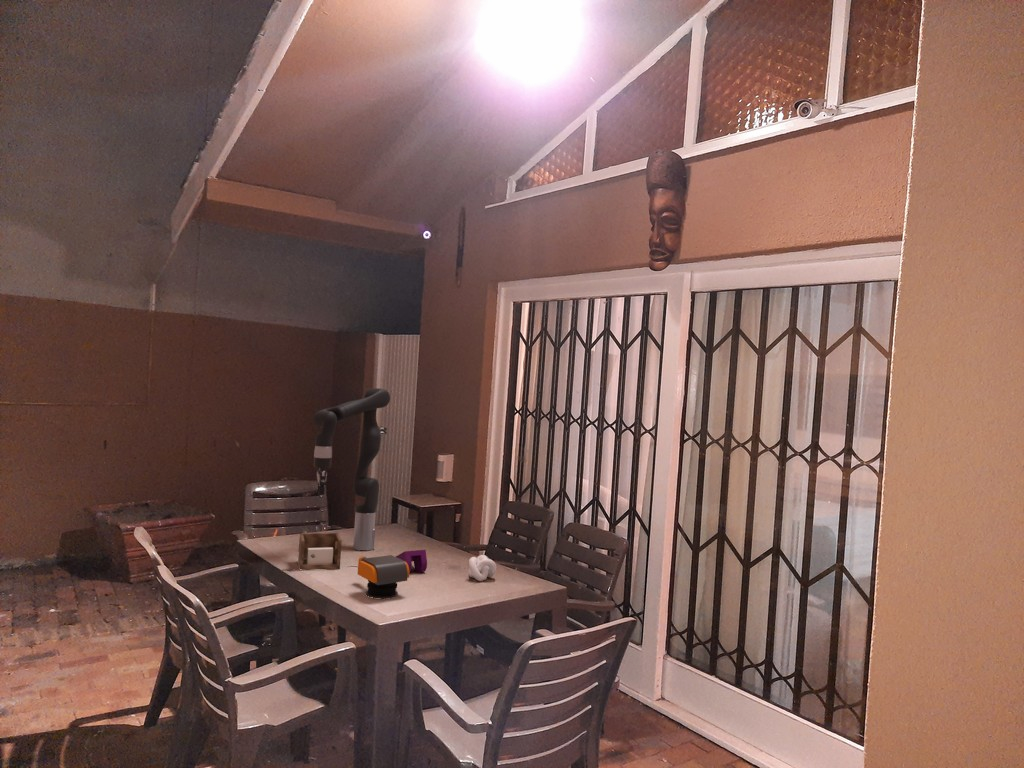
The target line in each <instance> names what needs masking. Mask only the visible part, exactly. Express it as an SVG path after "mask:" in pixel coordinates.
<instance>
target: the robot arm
mask: <svg viewBox="0 0 1024 768" xmlns="http://www.w3.org/2000/svg"><path fill="white" fill-rule="evenodd" d="M390 401H391V394H390V392H389V391H388V390H386V389H384V388H379V387H378V388H374V387H371V388H368V389H367V390H366V391H365V392H364V397H363V398H359V399H356V400H350V401H347V402H344V403H341V404H338V405H336V406H332V407H327V408H323V409H320V410H318V411H317V412H316V413H315V414H314V416H313V422H314V424H315V426H318V427H322V430H321V431H319V432H317V433H316V435H315V447H314V451H313V453H314V454H313V467H314V468H316V469H317V471H316V481H317V489H316V491H317V493H318V495H319V496H325V487H326V485H327V484H326V483H327V476H328V472H327V470H326V469H330V468H332V458H333V438H334V434H335V431H336V427H337V423H338V422H342V421H344V420H347V419H350V418H351V417H355V416H357V415H359V414H363V417H362V429H361V436H360V442H359V444H360V445H359V453H358V460H357V466H356V471H355V476H354V480H353V487H352V488H353V493H354V495H355V496H356V497H362V498H365V499H364V502H363V503H359V504H357V505H356V506H355V513H354V514H355V515H354V517H355V518H354V531H353V548H354V549H353V550H355V549H356V551H360V550H367V551H372V550H373V549H374V550H375V541H376V514H377V513H376V512H377V511H376V509H377V507H378V503H379V502H378V501H379V493H380V484H379V480H378V479H377V478H374V477H369V476H368V471H369V468H370V465H371V463H372V462H373V461H374V459H376V457H377V455H378V454H379V452H380V450H381V449H380V448H381V441H382V434H381V430H380V428H379V424H378V422H377V410H378V409H382V408H385V407H387V406H389V403H390ZM374 550H373V551H374Z"/></svg>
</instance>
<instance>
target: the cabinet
mask: <svg viewBox="0 0 1024 768" xmlns="http://www.w3.org/2000/svg"><path fill="white" fill-rule="evenodd" d="M298 542H299V544H298V555H297V557H298V560H297V563H298V562H299V563H298V568H300V569H326V570H340V569H341V557H342V556H341V555H342V542H343V541H342V537H341V535H340V533H339V532H300V533H299V541H298ZM329 547H333V562H332V564H307V553H308V548H329Z"/></svg>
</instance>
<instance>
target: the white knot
mask: <svg viewBox="0 0 1024 768" xmlns="http://www.w3.org/2000/svg"><path fill="white" fill-rule="evenodd" d="M468 566H469V567H468V568H469V571H468V576H469V577H470V578H471V579H472V578H474V579H475V580H476V581H478V582H483V580H484V581H485V580H487V579H488V578H487V577H489V578H492V577H493V576H495V574H496V571H497V565H496V562H495V561H494V560H492V559H490V558H489V557H488V556H487V555H485V554H480V555H478V556H477V557H476V556H471V557H470V558H469V560H468Z"/></svg>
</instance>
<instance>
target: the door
mask: <svg viewBox="0 0 1024 768" xmlns="http://www.w3.org/2000/svg"><path fill="white" fill-rule="evenodd" d="M332 562H333V547H329V548H308V553H307V564H332Z"/></svg>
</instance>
